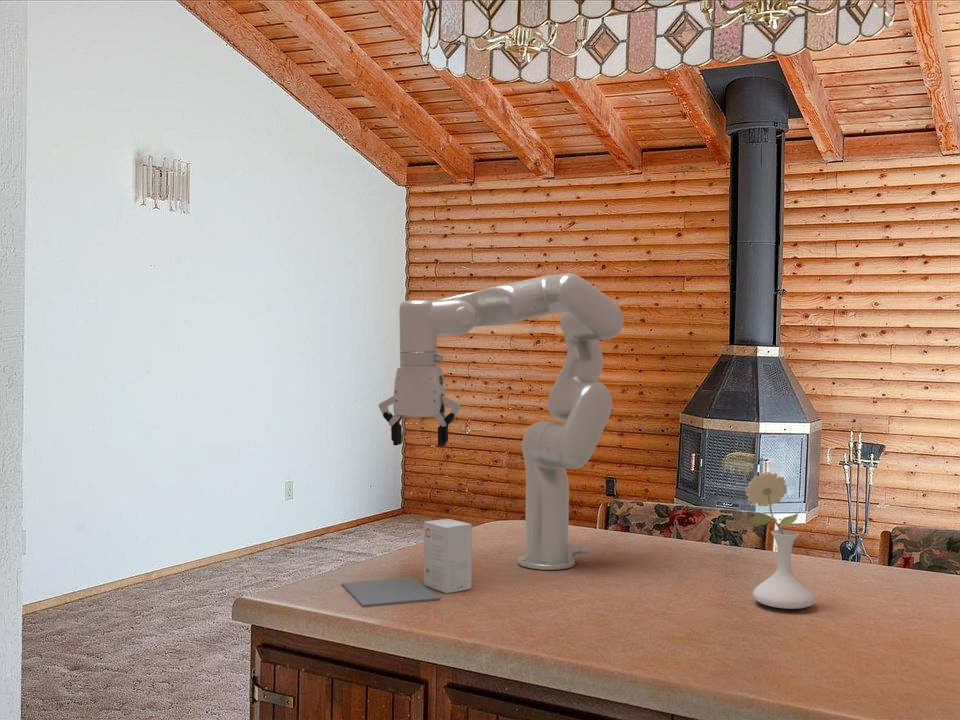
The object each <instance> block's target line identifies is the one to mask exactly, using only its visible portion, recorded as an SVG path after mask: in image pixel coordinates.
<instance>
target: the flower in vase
mask: <svg viewBox="0 0 960 720" xmlns="http://www.w3.org/2000/svg"><path fill="white" fill-rule="evenodd" d="M750 480H751V481H749V482H748V483H747V484H748V486H746V487H745V488H744V492H745V496H746V497H747V501H748V502H750V503H751V504H757V506H761V507H768V506H769V512H770V515H771V516H770V515H769V514H767V513H758V514H756V515H754V516H752V517H751V518H750V520H749V521H748V522H749V523H753V524H756V525H760V526H762V525H763V526H765V525H767V524H768V523H769V522H771V521H772V520H773V521H774V524H775V525H776V527H777V528H778V529H774V530H771V531H770V533H771V534H772V536H773V538H774V540H775V544H776V547H777V555H778V556H777V557H778V558H777V567H776V570H775V572H774V573H773V574H772V575H770V577H768V578H766V579H765V580H764V581H762V582H761V583H760V584H758V585H756V587H755V588H754V589H753V591H752V597H753V599H754V600H755V601H757V602H759V604H762V605H765V606H769V607H772V608H778V609H785V610H786V609H787V610H796V609H804V608H809V607H811V606H813V605H815V603H816V601H817V597H816V595H815V594H814V592H813V591H812V590H811V589H810V588H809V587H808V586H807V585H806V584H805V583H803V582H802V581H801V580H800V579H799V578H798V577H797V576H796V575H795V574H794V572H793V570H792V565H791V564H792V562H791V560H792V559H791V558H792V549H793V546H794V543H795V540H796V538H797V537H798V536H799V532H798V531H794V530H787V529H782V528H781V527H783V526H789V525H791V524H793V523H794V522H796V521H797V519H798V517H799V512H797V513H795V514H793V515H790V516H786V517H783V518H782V519H781V520H780V522H779V523H778V521H777V520H776V519H775V517H774V514H773V511H772V510H773V509H772V506H773V505H774V504H775V503H776V504H777V503H780V502H781V501H782V499H783V498H784V497H785V495H786V494H787V493H788V488H787V484H786V480H785V478H784V477H783V476H778V474H777V473H776V472H775V473H772V472H770V471H769V472H767V473H764V472H760V473H759V475H755V476H753V478H751V479H750Z"/></svg>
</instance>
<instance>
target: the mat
mask: <svg viewBox="0 0 960 720" xmlns="http://www.w3.org/2000/svg"><path fill="white" fill-rule="evenodd" d="M341 586H342V587H343V588H344V589H345V591H347V593H349V595H351V596H352V598H353V599H354V600H355V601H356V602H357V601H358V602H359V603H358V602H357V603H358V604H359V605H360V606H361V607H362V608H366V607H368V608H370V607H379V606H387V605H388V606H389V605H400V604H411V603H422V601H423V602H433V600H434V601H440V600H441V597H440V596H439V595H438V594H436V593H435V592H433V591H432V590H431V589H429V587H427V586H424V583H421V582H420V581H419V580H417V579H416V577H413V576H412V577H400V578H388V579H376V580H365V581H364V580H363V581H352V582H342V583H341Z"/></svg>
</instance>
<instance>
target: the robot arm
mask: <svg viewBox="0 0 960 720" xmlns="http://www.w3.org/2000/svg"><path fill="white" fill-rule="evenodd" d="M557 313H561V315H560V319H559V320H560V323H559V324H560V329H561V332H562V334H563V337H564V339H565V342H566V347H567V351H566V352H567V353H566V355H567V356H566V357H565V361H564V363H563V365H562V368H561V369H560V372H559V374H558V376H557V378H556V381H555V382H554V384H553V387H552V389H551V391H550V393H549V396H548V398H547V402H546V403H547V405H546V406H547V411H548V412H549V414H550V415H551V416H552V417H553V418H555V419H557V420H560V421H563V422H556V421H548V420H545V421H544V420H543V421H537V422H535V423H532V424H530V426H529V427H527V429H526V430H525V432H524V434H523V435H522V436H523V437H522V441H521V448H522V455H523V457H522V458H523V461H524V469H525V470H524V471H525V533H524V534H525V536H524V540H525V541H524V542H525V543H524V544H525V547H524V549H525V550H524V552H525V553H524V554H522V555H520V556H518V557H517V560H518V561H517V563H518V564H519V566H522V567H524V568H527V569H528V568H529V569H534V570H543V571H544V570H545V571H546V570H547V571H552V570H553V571H556V570H557V571H558V570H566V569H569V568H572V567H574V566H575V565H576V559H575V558H574V557H575V556H576V555H587V554H588V553H589V547H588V545H587V544H583V545H580V544H579V545H578V544H572V543H571V542H569V509H570V503H569V502H570V501H569V500H570V484H569V477H568V472H567V470H568V469H569V470H572V469H573V470H576V469H580V468H582V467H583V466H585V465H586V464H587V463H588V462H589V460H590V459H591V457H592V455H593V454H594V453H595V452H594V451H595V450H596V447H597V446H598V444H599V441H600V439H601V436H602V435H603V432H604V430H605V428H606V426H607V423H608V421H609V420H610V419H609V418H610V416H611V413H612V408H613V399H612V394H611V392H610V390H609V388H608V387H607V386H606V385H605V384H604V383H602V382H600V381H599V378H600V376H601V374H602V370H603V368H604V367H603V366H604V357H603V353H602V348H601V346H600V342H599V340H601V341H602V340H603V341H604V340H611V339H613V338H615V337H617V336H618V335H619V334H620V333H621V331H622V329H623V326H624V320H625V319H624V313H623V312H622V310H621V308H620V306H619V305H618V304H617V303H616V302H615V301H614V300H613V299H612V298H610V297H609V296H607V295H606V294H605V293H604V292H602V291H601V290H599V289H598V288H597V287H595V285H593V284H592V283H590V282H589V281H588V280H586V279H584V278H583V277H581V276H579V275H578V274H575V273H570V272H567V273H557V274H547V275H541V276H537V277H533V278H527V279H523V280H518V281H514V282H510V283H506V284H505V283H504V284H500V285H497V286H492V287H487V288H483V289H481V290H476V291H472V292H466V293H463V294H458V295H453V296H449V297H443V298H439V299H435V300H429V299H426V300H425V299H417V300H416V299H415V300H414V299H413V300H411V299H410V300H404V301H402V302H401V303H400V305H399V314H398V315H399V367H397V369H396V372H395V373H396V374H395V379H394V385H393V386H394V387H393V395H392V396H390V397H389V398H387V399H385V400H384V401H382V402H379V404H378V408H379V410H380V412H381V414H382V417H383V419H385V421H386V422H388V424H389V426H390V431H391V432H390V434H391V436H390V437H391V438H390V439H391V441H392V445H393V446H400V445H402V443H403V439H402V438H403V437H402V436H403V430H402V429H403V425H401V424H400V423H401V421H402V420H403V418H404V417H405V418H406V417H407V418H434V419H435V420H436V421H437V422H438V424H439V426H438V427H437V445H438V447H445V446H447V443H448V441H449V426H450V424H451V423H452V422H453V421H454V420H455V419H456V418H457V415H458V412H459V411H460V409H461V408H462V407H461V404H460V403H458V401H455V400H453V399H451V398H449V397H447V396H446V388H445V387H446V385H445V381H444V374H443V370H442V367H438V366H439V363H442V362H444V361H445V357H444V355H442V354H441V355H440V354H439V352H438V337H444V336H445V337H458V336H464V335H466V334H468V333H469V332H471V331H472V329H473V328H476V327H477V328H478V327H485V326H486V327H490V326H491V327H492V326H493V327H494V326H504V325H509V324H516V323H518V322H522V321H526V320H529V319H533V318H538V317H541V316H546V315H550V314H557ZM391 405H393V406H392V408H393V413H394V414H393V413H392V412H390V409H389V406H391ZM447 406H448V407H449V408H450V412H449V413H448V414H447V415H446V412H447ZM566 469H567V470H566Z"/></svg>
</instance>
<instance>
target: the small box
mask: <svg viewBox="0 0 960 720" xmlns="http://www.w3.org/2000/svg"><path fill="white" fill-rule="evenodd" d="M423 526H424V529H423V532H424V533H423V540H424V541H423V585H424V586H425V587H427V588H430V589H433V590H435V591H439V592H440V593H441V592H442V593H444V594H452V593H456V592H461V591H466V590H467V591H468V590H471V589H472V580H473V579H472V569H473V568H472V567H473V566H472V564H473V563H472V561H473V560H472V559H473V558H472V556H473V555H472V554H473V553H472V550H473V549H472V548H473V547H472V543H473V542H472V534H473V532H472V531H473V529H472V528H473V525H472V524H471V523H467V522H463V521H460V520H455V519H452V518H443V519H436V520H435V519H434V520H426V521H424V524H423Z"/></svg>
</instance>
